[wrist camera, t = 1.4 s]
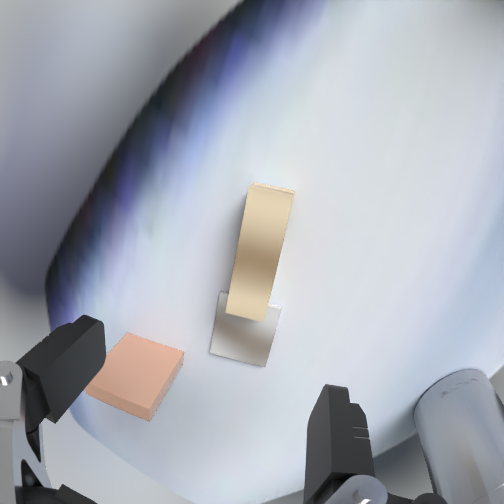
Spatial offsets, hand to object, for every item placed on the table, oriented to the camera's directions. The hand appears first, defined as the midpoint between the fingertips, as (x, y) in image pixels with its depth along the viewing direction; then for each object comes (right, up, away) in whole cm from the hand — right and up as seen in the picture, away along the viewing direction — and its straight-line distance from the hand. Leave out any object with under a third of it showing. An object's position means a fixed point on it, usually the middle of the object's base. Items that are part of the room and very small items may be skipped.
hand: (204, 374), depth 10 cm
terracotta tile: (-8, -5, +18) cm, 20 cm away
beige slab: (+2, +2, +14) cm, 15 cm away
